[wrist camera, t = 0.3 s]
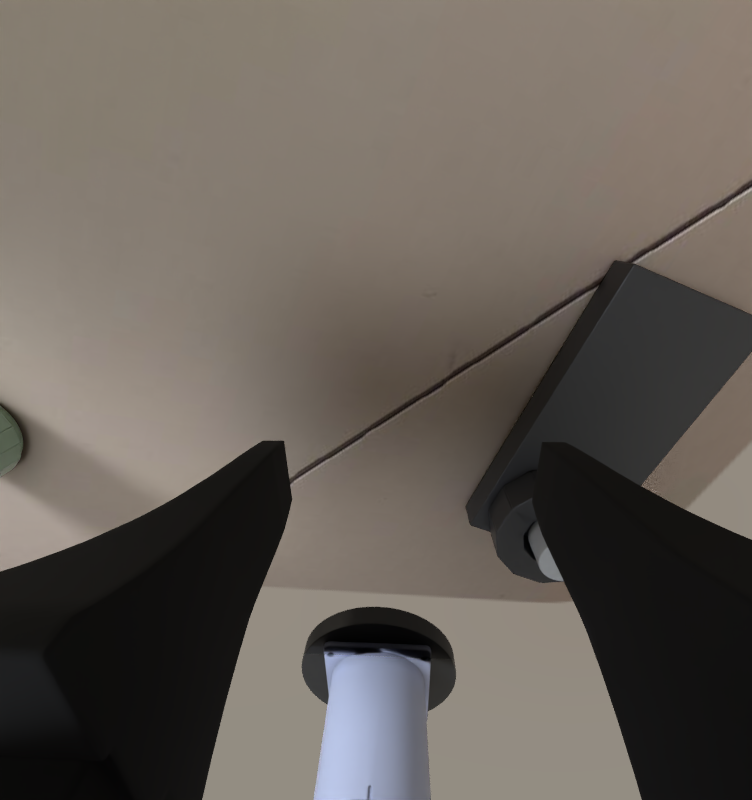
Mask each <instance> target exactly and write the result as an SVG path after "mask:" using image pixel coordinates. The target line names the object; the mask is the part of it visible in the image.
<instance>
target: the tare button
mask: <svg viewBox="0 0 752 800" xmlns="http://www.w3.org/2000/svg"><path fill="white" fill-rule="evenodd" d="M528 540H529V543H530V546H531V548H532V551H533V553H534V556H535V558H536V561H537V563H538V566H539V568H540V570H541V571H542V573H543V574H544V575H546V576H547V577H549V578H551V579H553V580H557V581H563V578H562V576H561V574H560V572H559V570H558V568H557V566H556V564H555V562H554V560H553V558H552V555H551V553H550V551H549V549H548V547H547V545H546V543H545V540H544V538H543V536H542V533H541V530H540V527H539V524H538V521H536V522H534V523H533V525H532V526H531V528H530V530H529V533H528Z"/></svg>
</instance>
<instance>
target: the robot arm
mask: <svg viewBox="0 0 752 800" xmlns="http://www.w3.org/2000/svg"><path fill="white" fill-rule="evenodd" d="M291 502H292V495H291V488H290V481H289V474H288V467H287V460H286V452H285V445H284V441H262V442H260V443H258V444H257V445H255V446H254V447H252V448H250V449H249V450H248V451H246V452H245V453H243V454H242V455H240V456H239V457H237V458H236V459H235V460H233V461H232V462H230V463H229V464H227V465H226V466H224V467H223V468H221V469H220V470H219V471H217V472H216V473H214V474H213V475H211V476H210V477H208V478H207V479H205V480H203V481H202V482H200V483H199V484H197V485H195V486H194V487H192V488H191V489H189V490H187V491H186V492H184V493H183V494H181V495H179V496H178V497H176V498H174V499H172V500H171V501H169V502H167V503H165V504H164V505H162V506H160V507H158V508H156V509H154V510H152V511H150V512H148V513H146V514H144V515H143V516H141V517H139V518H137V519H135V520H132V521H130V522H128V523H126V524H124V525H121V526H119V527H117V528H115V529H112V530H110V531H108V532H106V533H103V534H101V535H99V536H97V537H94V538H92V539H90V540H87V541H85V542H83V543H80V544H77V545H75V546H72V547H70V548H67V549H65V550H62V551H59V552H57V553H54V554H51V555H48V556H46V557H43V558H40V559H37V560H34V561H32V562H29V563H26V564H23V565H20V566H17V567H14V568H11V569H7V570H4V571H1V572H0V800H202V798H203V793H204V789H205V785H206V780H207V775H208V771H209V767H210V762H211V758H212V754H213V750H214V746H215V742H216V738H217V734H218V730H219V726H220V722H221V718H222V714H223V710H224V706H225V702H226V699H227V695H228V691H229V688H230V684H231V680H232V677H233V673H234V670H235V666H236V662H237V659H238V655H239V652H240V648H241V645H242V641H243V638H244V635H245V631H246V628H247V625H248V621H249V618H250V615H251V613H252V610H253V607H254V604H255V601H256V599H257V597H258V594H259V592H260V589H261V587H262V584H263V582H264V579H265V577H266V575H267V572H268V570H269V567H270V565H271V562H272V560H273V557H274V555H275V552H276V550H277V547H278V545H279V542H280V540H281V537H282V535H283V532H284V529H285V526H286V522H287V518H288V514H289V510H290V506H291ZM532 505H533V508H534V511H535V515H536V518H537V521H538V524H539V527H540V530H541V533H542V536H543V538H544V540H545V543H546V545H547V547H548V549H549V551H550V553H551V555H552V558H553V560H554V562H555V564H556V566H557V568H558V570H559V572H560V574H561V576H562V578H563V581H564V583H565V585H566V587H567V589H568V591H569V593H570V595H571V597H572V599H573V601H574V603H575V606H576V608H577V610H578V612H579V614H580V617H581V619H582V621H583V624H584V626H585V628H586V631H587V633H588V636H589V639H590V642H591V644H592V647H593V650H594V653H595V655H596V658H597V661H598V663H599V666H600V669H601V672H602V675H603V678H604V681H605V684H606V686H607V690H608V693H609V696H610V699H611V702H612V705H613V708H614V711H615V714H616V717H617V720H618V723H619V726H620V729H621V732H622V736H623V739H624V742H625V745H626V748H627V752H628V755H629V758H630V762H631V765H632V768H633V771H634V774H635V778H636V781H637V784H638V788H639V792H640V795H641V798H642V800H752V540H751V539H748V538H746V537H744V536H741V535H739V534H736V533H734V532H732V531H729V530H727V529H725V528H723V527H720V526H718V525H716V524H714V523H712V522H710V521H707V520H705V519H703V518H701V517H699V516H697V515H695V514H692V513H691V512H689V511H686V510H684V509H682V508H680V507H678V506H677V505H675V504H673V503H671V502H669V501H667V500H665V499H663V498H662V497H660V496H658V495H656V494H654V493H652V492H650V491H649V490H647V489H645V488H643V487H642V486H640V485H638V484H636V483H635V482H633V481H631V480H629V479H628V478H626V477H624V476H623V475H621V474H619V473H618V472H616V471H614V470H613V469H611V468H609V467H608V466H606V465H604V464H603V463H601V462H599V461H598V460H596V459H594V458H593V457H591V456H589V455H588V454H586V453H584V452H583V451H581V450H579V449H577V448H576V447H574V446H572V445H570V444H568V443H566V442H542V445H541V451H540V457H539V463H538V469H537V475H536V481H535V487H534V492H533V498H532ZM324 657H325V666H326V675H327V683H328V692H329V699H328V706H327V712H326V720H325V726H324V734H323V740H322V746H321V754H320V760H319V767H318V773H317V781H316V788H315V794H314V800H431V795H430V777H429V758H428V740H427V716H428V700H429V683H430V666H431V648H430V647H429V646H427V645H414V644H389V643H363V642H338V641H328V642H326V643H325V644H324Z"/></svg>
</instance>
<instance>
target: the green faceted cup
mask: <svg viewBox="0 0 752 800" xmlns="http://www.w3.org/2000/svg"><path fill="white" fill-rule="evenodd" d="M22 449H23V436H22V433H21V430H20V428H19V426H18V424H17V423H16V421H15V420H14V419H13V417H12V416H11V415H10V414H9V413H8V412H7V411H6V410H5V409H4V408H3V407H1V406H0V477H2V476H3V475H5V474H6V473H8V472H9V471H11V470H12V469H14V467H15V466H16V464H17V463H18V461H19V460H20V458H21V452H22Z"/></svg>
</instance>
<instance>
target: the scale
mask: <svg viewBox="0 0 752 800" xmlns="http://www.w3.org/2000/svg"><path fill="white" fill-rule="evenodd" d="M751 352H752V315H751V314H749V313H747V312H744V311H742V310H740V309H737V308H735V307H733V306H731V305H728V304H726V303H724V302H721V301H719V300H717V299H714V298H712V297H710V296H708V295H705V294H703V293H701V292H698V291H696V290H694V289H691V288H689V287H687V286H685V285H682V284H680V283H678V282H675V281H673V280H671V279H668V278H666V277H664V276H661V275H659V274H657V273H655V272H652V271H650V270H648V269H645V268H643V267H641V266H638V265H636V264H633V263H627V262H622V261H614V263H613V264H612V266H611V268H610V269H609V271H608V273H607V274H606V276H605V278H604V279H603V281H602V283H601V284H600V286H599V288H598V289H597V291H596V293H595V294H594V296H593V297H592V299H591V301H590V302H589V304H588V306H587V307H586V309H585V311H584V312H583V314H582V316H581V317H580V319H579V321H578V322H577V324H576V325H575V327H574V329H573V330H572V332H571V334H570V335H569V337H568V339H567V340H566V342H565V344H564V345H563V347H562V349H561V350H560V352H559V354H558V355H557V357H556V358H555V360H554V362H553V363H552V365H551V367H550V368H549V370H548V372H547V373H546V375H545V377H544V378H543V380H542V382H541V383H540V385H539V386H538V388H537V390H536V391H535V393H534V395H533V396H532V398H531V400H530V401H529V403H528V405H527V406H526V408H525V410H524V411H523V413H522V414H521V416H520V418H519V419H518V421H517V423H516V424H515V426H514V428H513V429H512V431H511V433H510V434H509V436H508V438H507V439H506V441H505V443H504V444H503V446H502V447H501V449H500V451H499V452H498V454H497V456H496V457H495V459H494V461H493V462H492V464H491V466H490V467H489V469H488V471H487V472H486V474H485V475H484V477H483V479H482V480H481V482H480V484H479V485H478V487H477V489H476V490H475V492H474V494H473V495H472V497H471V499H470V500H469V502H468V504H467V505H466V510H467V514H468V519H469V523H470V525H471V526H474V527H477V528H480V529H483V530H486V531H489V532H490V533H491V536H492V539H493V543H494V546H495V550H496V553H497V556H498V557H499V558H500V560H501V561H502V562H503V563H504V564H505V565H506V566H507V567H508V568H509V570H510V571H511V572H512V573H513V574H516V575H518V576H521V577H524V578H527V579H530V580H533V581H536V582H539V583H540V582H542V583H549V582H563V581H557V580H553V579H551V578H549V577H547V576H546V575H544V574H543V573H542V571H541V570H540V568H539V566H538V563H537V561H536V558H535V556H534V553H533V551H532V548H531V546H530V543H529V540H528V533H529V530H530V528H531V526H532V525H533V523H534V522H536V521H537V518H536V515H535V511H534V508H533V505H532V498H533V492H534V487H535V481H536V475H537V469H538V463H539V457H540V451H541V445H542V442H566V443H568V444H570V445H572V446H574V447H576V448H577V449H579V450H581V451H583V452H584V453H586V454H588V455H589V456H591V457H593V458H594V459H596V460H598V461H599V462H601V463H603V464H604V465H606V466H608V467H609V468H611V469H613V470H614V471H616V472H618V473H619V474H621V475H623V476H624V477H626V478H628V479H629V480H631V481H633V482H635V483H636V484H638V485H640V486H641V485H642V484H643V482H644V481H645V480H646V479H647V478H648V476H649V475H650V474H651V473H652V471H653V470H654V469H655V468H656V467H657V465H658V464H659V463H660V462H661V461H662V459H663V458H664V457H665V456H666V455H667V453H668V452H669V451H670V450H671V449H672V447H673V446H674V445H675V444H676V443H677V441H678V440H679V439H680V438H681V436H682V435H683V434H684V433H685V432H686V430H687V429H688V428H689V427H690V426H691V424H692V423H693V422H694V421H695V420H696V418H697V417H698V416H699V415H700V414H701V412H702V411H703V410H704V409H705V408H706V406H707V405H708V404H709V403H710V401H711V400H712V399H713V398H714V397H715V395H716V394H717V393H718V392H719V391H720V389H721V388H722V387H723V386H724V385H725V383H726V382H727V381H728V380H729V379H730V377H731V376H732V375H733V374H734V372H735V371H736V370H737V369H738V368H739V366H740V365H741V364H742V363H743V362H744V360H745V359H746V358H747V357H748V356H749V354H750V353H751Z"/></svg>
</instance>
